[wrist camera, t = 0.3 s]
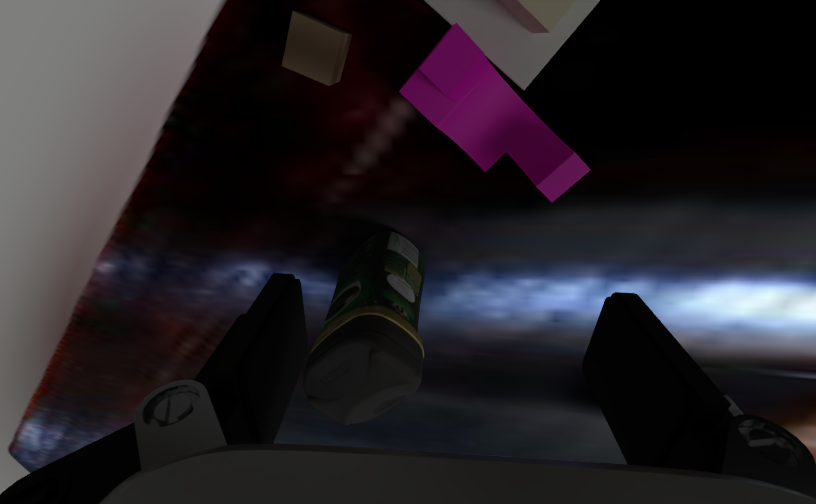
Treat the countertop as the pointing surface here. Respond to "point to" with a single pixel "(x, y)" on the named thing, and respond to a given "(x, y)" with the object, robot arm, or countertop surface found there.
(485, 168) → the toy block
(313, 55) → the cube
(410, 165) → the countertop surface
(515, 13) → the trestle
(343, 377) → the coffee jar
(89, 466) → the robot arm
